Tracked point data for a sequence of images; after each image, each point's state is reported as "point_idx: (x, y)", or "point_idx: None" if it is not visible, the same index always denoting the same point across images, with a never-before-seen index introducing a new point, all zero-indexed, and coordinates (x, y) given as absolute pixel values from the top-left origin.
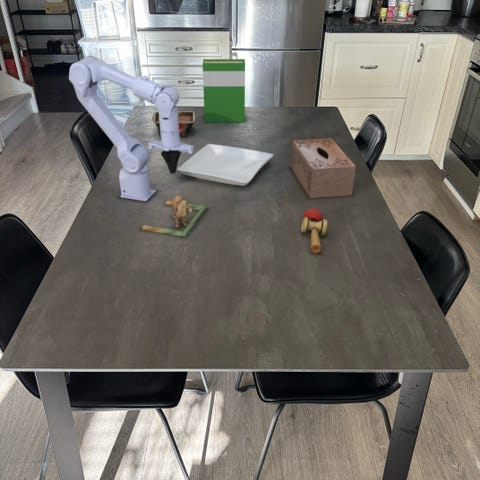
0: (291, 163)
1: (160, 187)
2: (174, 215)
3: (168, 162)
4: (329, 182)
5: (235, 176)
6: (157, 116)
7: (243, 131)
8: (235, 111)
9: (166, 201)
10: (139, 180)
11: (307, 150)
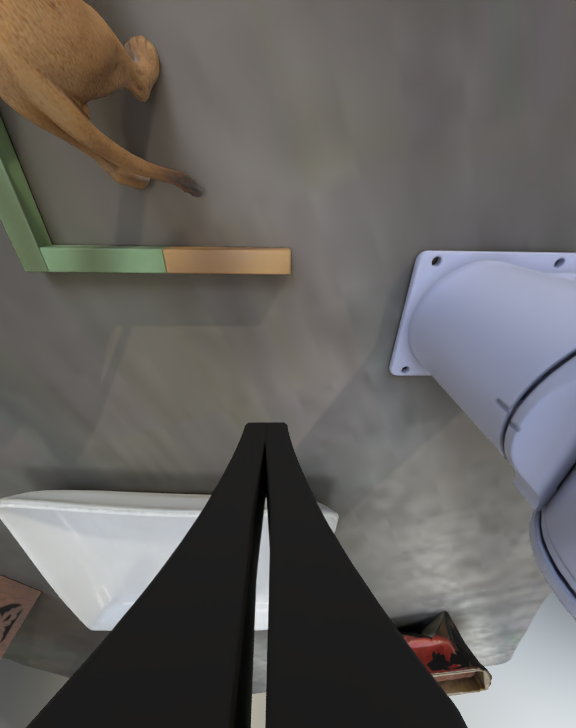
0: (29, 607)
1: (378, 409)
2: (134, 47)
3: (283, 536)
4: None
5: (131, 530)
6: (475, 675)
7: (263, 652)
8: None
9: (288, 260)
10: (547, 307)
11: None
